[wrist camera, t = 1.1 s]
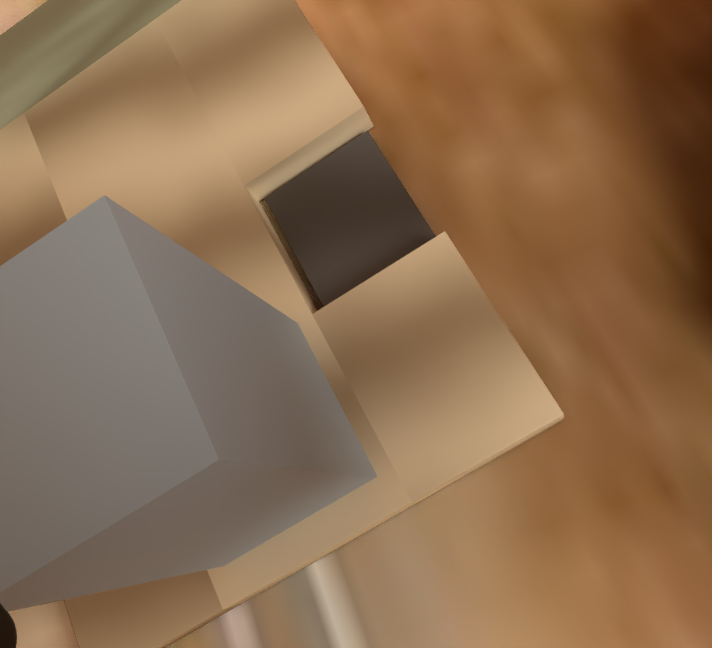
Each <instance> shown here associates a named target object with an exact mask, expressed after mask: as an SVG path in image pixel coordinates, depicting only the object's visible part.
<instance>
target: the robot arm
mask: <svg viewBox="0 0 712 648" xmlns="http://www.w3.org/2000/svg"><path fill="white" fill-rule="evenodd" d="M16 643H17V634H16V628H15V624H14V622H13V619H12V618H11V616H10V615H9V613H8V612H7V611H6V610H5V608H4V607H3V606H2V604H1V603H0V648H16Z"/></svg>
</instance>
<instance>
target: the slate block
mask: <svg viewBox="0 0 712 648" xmlns="http://www.w3.org/2000/svg"><path fill="white" fill-rule="evenodd" d="M376 477H378V476H377V475H376V473H375V471H374V469H373V467H372V465H371V463H370V461H369V459H368V457H367V455H366V453H365V451H364V450H363V448H362V446H361V444H360V442H359V440H358V438H357V436H356V434H355V432H354V430H353V428H352V426H351V425H350V423H349V421H348V419H347V417H346V415H345V413H344V411H343V409H342V407H341V405H340V403H339V401H338V400H337V398H336V396H335V394H334V392H333V390H332V388H331V386H330V384H329V382H328V380H327V378H326V376H325V375H324V373H323V371H322V369H321V367H320V365H319V363H318V361H317V359H316V357H315V355H314V353H313V351H312V350H311V348H310V346H309V344H308V342H307V340H306V338H305V336H304V334H303V332H302V330H301V328H300V326H299V325H298V323H297V322H295V321H294V320H292V319H291V318H289V317H288V316H286V315H285V314H283V313H282V312H280V311H279V310H277V309H276V308H274V307H273V306H271V305H270V304H268V303H267V302H265V301H264V300H262V299H261V298H259V297H258V296H256V295H255V294H253V293H252V292H250V291H249V290H247V289H245V288H244V287H242V286H241V285H239V284H238V283H236V282H235V281H233V280H232V279H230V278H229V277H227V276H226V275H224V274H223V273H221V272H220V271H218V270H217V269H215V268H214V267H212V266H211V265H209V264H208V263H206V262H205V261H203V260H202V259H200V258H199V257H197V256H196V255H194V254H193V253H191V252H190V251H188V250H187V249H185V248H184V247H182V246H181V245H179V244H178V243H176V242H175V241H173V240H172V239H170V238H169V237H167V236H165V235H164V234H162V233H161V232H159V231H158V230H156V229H155V228H153V227H152V226H150V225H149V224H147V223H146V222H144V221H143V220H141V219H140V218H138V217H137V216H135V215H134V214H132V213H131V212H129V211H128V210H126V209H125V208H123V207H122V206H120V205H119V204H117V203H116V202H114V201H113V200H111V199H110V198H108V197H107V196H105V195H104V196H102V197H101V198H100V199H98V200H97V201H95V202H94V203H92V204H91V205H89V206H88V207H86V208H85V209H83V210H82V211H80V212H79V213H78V214H76V215H75V216H73V217H72V218H70V219H69V220H67V221H66V222H64V223H63V224H61V225H60V226H58V227H57V228H56V229H54V230H53V231H51V232H50V233H48V234H47V235H45V236H44V237H42V238H41V239H39V240H38V241H36V242H35V243H34V244H32V245H31V246H29V247H28V248H26V249H25V250H23V251H22V252H20V253H19V254H17V255H16V256H14V257H13V258H12V259H10V260H9V261H7V262H6V263H4V264H3V265H1V266H0V603H1V604H2V606H3V607H4V608H5V610H6V611H12V610H17V609H22V608H27V607H31V606H36V605H41V604H46V603H50V602H55V601H60V600H65V599H69V598H74V597H79V596H84V595H89V594H93V593H98V592H103V591H108V590H112V589H117V588H122V587H127V586H131V585H136V584H141V583H146V582H150V581H155V580H160V579H165V578H170V577H174V576H179V575H184V574H189V573H193V572H198V571H203V570H208V569H212V568H217V567H222V566H225V565H227V564H228V563H230V562H232V561H233V560H235V559H237V558H239V557H240V556H242V555H244V554H245V553H247V552H249V551H251V550H252V549H254V548H256V547H258V546H259V545H261V544H263V543H264V542H266V541H268V540H270V539H271V538H273V537H275V536H276V535H278V534H280V533H282V532H283V531H285V530H287V529H288V528H290V527H292V526H294V525H295V524H297V523H299V522H300V521H302V520H304V519H306V518H307V517H309V516H311V515H312V514H314V513H316V512H318V511H319V510H321V509H323V508H325V507H326V506H328V505H330V504H331V503H333V502H335V501H337V500H338V499H340V498H342V497H343V496H345V495H347V494H349V493H350V492H352V491H354V490H355V489H357V488H359V487H361V486H362V485H364V484H366V483H367V482H369V481H371V480H373V479H374V478H376Z"/></svg>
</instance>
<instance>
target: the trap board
mask: <svg viewBox="0 0 712 648" xmlns="http://www.w3.org/2000/svg"><path fill="white" fill-rule="evenodd" d="M372 127H373V124H372V122H371V120H370V118H369V116H368V114H367V112H366V110H365V108H364V106H363V105H362V103H361V102H360V100H359V98H358V97H357V95H356V94H355V92H354V91H353V89H352V88H351V86H350V85H349V83H348V82H347V80H346V78H345V77H344V75H343V74H342V72H341V71H340V69H339V68H338V66H337V65H336V63H335V62H334V60H333V59H332V57H331V55H330V54H329V52H328V51H327V49H326V48H325V46H324V45H323V43H322V42H321V40H320V39H319V37H318V35H317V34H316V32H315V31H314V29H313V28H312V26H311V25H310V23H309V22H308V20H307V19H306V17H305V15H304V14H303V12H302V11H301V9H300V8H299V6H298V5H297V3H296V2H295V0H48V1H47V2H45V3H44V4H42V5H41V6H40V7H38V8H37V9H36V10H34V11H33V12H32V13H30V14H29V15H28V16H26V17H25V18H23V19H22V20H21V21H19V22H18V23H17V24H15V25H14V26H13V27H11V28H10V29H8V30H7V31H6V32H4V33H3V34H2V35H0V266H1V265H3V264H4V263H6V262H7V261H9V260H10V259H12V258H13V257H14V256H16V255H17V254H19V253H20V252H22V251H23V250H25V249H26V248H28V247H29V246H31V245H32V244H34V243H35V242H36V241H38V240H39V239H41V238H42V237H44V236H45V235H47V234H48V233H50V232H51V231H53V230H54V229H56V228H57V227H58V226H60V225H61V224H63V223H64V222H66V221H67V220H69V219H70V218H72V217H73V216H75V215H76V214H78V213H79V212H80V211H82V210H83V209H85V208H86V207H88V206H89V205H91V204H92V203H94V202H95V201H97V200H98V199H100V198H101V197H102V196H104V195H105V196H107V197H108V198H110V199H111V200H113V201H114V202H116V203H117V204H119V205H120V206H122V207H123V208H125V209H126V210H128V211H129V212H131V213H132V214H134V215H135V216H137V217H138V218H140V219H141V220H143V221H144V222H146V223H147V224H149V225H150V226H152V227H153V228H155V229H156V230H158V231H159V232H161V233H162V234H164V235H165V236H167V237H169V238H170V239H172V240H173V241H175V242H176V243H178V244H179V245H181V246H182V247H184V248H185V249H187V250H188V251H190V252H191V253H193V254H194V255H196V256H197V257H199V258H200V259H202V260H203V261H205V262H206V263H208V264H209V265H211V266H212V267H214V268H215V269H217V270H218V271H220V272H221V273H223V274H224V275H226V276H227V277H229V278H230V279H232V280H233V281H235V282H236V283H238V284H239V285H241V286H242V287H244V288H245V289H247V290H249V291H250V292H252V293H253V294H255V295H256V296H258V297H259V298H261V299H262V300H264V301H265V302H267V303H268V304H270V305H271V306H273V307H274V308H276V309H277V310H279V311H280V312H282V313H283V314H285V315H286V316H288V317H289V318H291V319H292V320H294V321H295V322H297V323H298V325H299V326H300V328H301V330H302V332H303V334H304V336H305V338H306V340H307V342H308V344H309V346H310V348H311V350H312V351H313V353H314V355H315V357H316V359H317V361H318V363H319V365H320V367H321V369H322V371H323V373H324V375H325V376H326V378H327V380H328V382H329V384H330V386H331V388H332V390H333V392H334V394H335V396H336V398H337V400H338V401H339V403H340V405H341V407H342V409H343V411H344V413H345V415H346V417H347V419H348V421H349V423H350V425H351V426H352V428H353V430H354V432H355V434H356V436H357V438H358V440H359V442H360V444H361V446H362V448H363V450H364V451H365V453H366V455H367V457H368V459H369V461H370V463H371V465H372V467H373V469H374V471H375V473H376V475H377V476H378V477H376V478H374V479H373V480H371V481H369V482H367V483H366V484H364V485H362V486H361V487H359V488H357V489H355V490H354V491H352V492H350V493H349V494H347V495H345V496H343V497H342V498H340V499H338V500H337V501H335V502H333V503H331V504H330V505H328V506H326V507H325V508H323V509H321V510H319V511H318V512H316V513H314V514H312V515H311V516H309V517H307V518H306V519H304V520H302V521H300V522H299V523H297V524H295V525H294V526H292V527H290V528H288V529H287V530H285V531H283V532H282V533H280V534H278V535H276V536H275V537H273V538H271V539H270V540H268V541H266V542H264V543H263V544H261V545H259V546H258V547H256V548H254V549H252V550H251V551H249V552H247V553H245V554H244V555H242V556H240V557H239V558H237V559H235V560H233V561H232V562H230V563H228V564H227V565H225V566H222V567H217V568H212V569H208V570H203V571H198V572H193V573H189V574H184V575H179V576H174V577H170V578H165V579H160V580H155V581H150V582H146V583H141V584H136V585H131V586H127V587H122V588H117V589H112V590H108V591H103V592H98V593H93V594H89V595H84V596H79V597H74V598H69V599H65V600H64V602H65V605H66V608H67V611H68V615H69V618H70V621H71V624H72V627H73V630H74V634H75V637H76V640H77V643H78V646H79V648H165V647H166V646H168V645H170V644H172V643H173V642H175V641H177V640H179V639H180V638H182V637H184V636H186V635H187V634H189V633H191V632H193V631H194V630H196V629H198V628H200V627H201V626H203V625H205V624H207V623H208V622H210V621H212V620H214V619H215V618H217V617H219V616H221V615H222V614H224V613H226V612H228V611H229V610H231V609H233V608H235V607H236V606H238V605H240V604H242V603H243V602H245V601H247V600H249V599H250V598H252V597H254V596H256V595H257V594H259V593H261V592H263V591H264V590H266V589H268V588H270V587H271V586H273V585H275V584H277V583H278V582H280V581H282V580H284V579H285V578H287V577H289V576H291V575H292V574H294V573H296V572H298V571H299V570H301V569H303V568H305V567H306V566H308V565H310V564H312V563H313V562H315V561H317V560H319V559H320V558H322V557H324V556H326V555H327V554H329V553H331V552H333V551H334V550H336V549H338V548H340V547H341V546H343V545H345V544H347V543H348V542H350V541H352V540H354V539H355V538H357V537H359V536H361V535H362V534H364V533H366V532H368V531H369V530H371V529H373V528H375V527H376V526H378V525H380V524H382V523H383V522H385V521H387V520H389V519H390V518H392V517H394V516H396V515H397V514H399V513H401V512H403V511H404V510H406V509H408V508H410V507H411V506H413V505H415V504H417V503H418V502H420V501H422V500H424V499H425V498H427V497H429V496H431V495H432V494H434V493H436V492H438V491H439V490H441V489H443V488H445V487H446V486H448V485H450V484H452V483H453V482H455V481H457V480H459V479H460V478H462V477H464V476H466V475H467V474H469V473H471V472H473V471H474V470H476V469H478V468H480V467H481V466H483V465H485V464H487V463H488V462H490V461H492V460H494V459H495V458H497V457H499V456H501V455H502V454H504V453H506V452H508V451H509V450H511V449H513V448H515V447H516V446H518V445H520V444H522V443H523V442H525V441H527V440H529V439H530V438H532V437H534V436H536V435H537V434H539V433H541V432H543V431H544V430H546V429H548V428H550V427H551V426H553V425H555V424H557V423H558V422H560V421H562V420H564V414H563V412H562V411H561V409H560V407H559V406H558V404H557V403H556V401H555V400H554V398H553V397H552V395H551V394H550V392H549V391H548V389H547V387H546V386H545V384H544V383H543V381H542V380H541V378H540V377H539V375H538V374H537V372H536V371H535V369H534V368H533V366H532V364H531V363H530V361H529V360H528V358H527V357H526V355H525V354H524V352H523V351H522V349H521V348H520V346H519V344H518V343H517V341H516V340H515V338H514V337H513V335H512V334H511V332H510V331H509V329H508V328H507V326H506V324H505V323H504V321H503V320H502V318H501V317H500V315H499V314H498V312H497V311H496V309H495V308H494V306H493V304H492V303H491V301H490V300H489V298H488V297H487V295H486V294H485V292H484V291H483V289H482V288H481V286H480V284H479V283H478V281H477V280H476V278H475V277H474V275H473V274H472V272H471V271H470V269H469V268H468V266H467V265H466V263H465V261H464V260H463V258H462V257H461V255H460V254H459V252H458V251H457V249H456V248H455V246H454V245H453V243H452V241H451V240H450V238H449V237H448V235H447V234H446V232H445V231H444V232H443V233H441V234H440V235H438V236H435V235H434V233H433V232H432V230H431V228H430V227H429V225H428V224H427V222H426V221H425V219H424V217H423V216H422V214H421V213H420V211H419V210H418V208H417V207H416V205H415V203H414V202H413V200H412V199H411V197H410V196H409V194H408V193H407V191H406V189H405V188H404V186H403V185H402V183H401V182H400V180H399V179H398V177H397V175H396V174H395V172H394V171H393V169H392V168H391V166H390V165H389V163H388V161H387V160H386V158H385V157H384V155H383V154H382V152H381V151H380V149H379V147H378V146H377V144H376V143H375V141H374V140H373V138H372V137H371V135H370V133H369V132H368V130H369V129H370V128H372ZM341 147H342V148H341ZM306 170H307V171H306ZM271 193H272V194H271ZM264 198H265V200H266V202H267V204H268V206H269V207H270V209H271V211H272V213H273V215H274V217H275V218H276V220H277V222H278V224H279V226H280V228H281V230H282V231H283V233H284V235H285V237H286V239H287V241H288V242H289V244H290V246H291V248H292V250H293V252H294V254H295V255H296V257H297V259H298V261H299V263H300V265H301V266H302V268H303V270H304V272H305V274H306V276H307V278H308V279H309V281H310V283H311V285H312V287H313V289H314V290H315V292H316V294H317V296H318V298H319V300H320V302H321V303H322V305H323V308H321V309H320V310H318V309H317V308H316V306H315V304H314V302H313V300H312V298H311V296H310V294H309V293H308V291H307V289H306V287H305V285H304V283H303V281H302V280H301V278H300V276H299V274H298V272H297V270H296V268H295V267H294V265H293V263H292V261H291V259H290V257H289V255H288V254H287V252H286V250H285V248H284V246H283V244H282V242H281V240H280V239H279V237H278V235H277V233H276V231H275V229H274V227H273V226H272V224H271V222H270V220H269V218H268V216H267V214H266V213H265V211H264V209H263V207H262V205H261V203H260V201H261V200H262V199H264Z"/></svg>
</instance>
